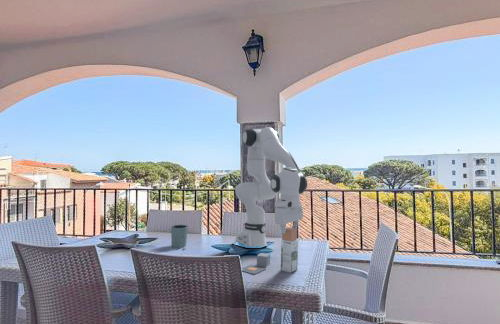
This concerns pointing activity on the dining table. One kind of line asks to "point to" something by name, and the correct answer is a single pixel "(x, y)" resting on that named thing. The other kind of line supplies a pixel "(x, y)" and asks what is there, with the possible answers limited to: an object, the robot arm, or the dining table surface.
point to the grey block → (263, 259)
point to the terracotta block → (290, 234)
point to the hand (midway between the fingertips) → (289, 231)
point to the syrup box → (289, 255)
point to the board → (253, 269)
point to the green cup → (179, 236)
